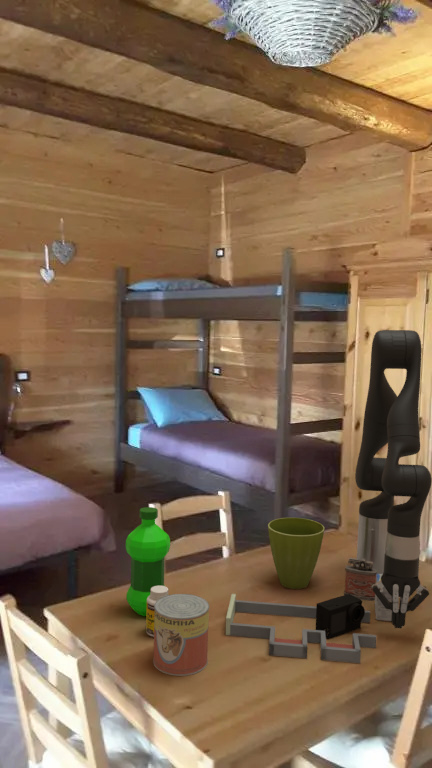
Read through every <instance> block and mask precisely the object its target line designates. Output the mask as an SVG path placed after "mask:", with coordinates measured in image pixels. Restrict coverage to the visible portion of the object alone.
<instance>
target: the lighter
mask: <svg viewBox="0 0 432 768" xmlns="http://www.w3.org/2000/svg"><path fill="white" fill-rule="evenodd" d="M347 560H348V564H349V565H345V566H344V567H345V568H344V569H345V582H344V591H343V595H347V594H351V595H353V596H355V597H357V598H359V599H361V600H362V601H371V602H372V601H373V602H375V593H374V592H373V589H372V586H371V585H372V583H376V574H377V570H376V569H372V566H373V562H371V561H366V559H361V560H358V559H357V558H353V557H349V558H348V559H347ZM356 565H359V566H356ZM368 566H369V568H368Z"/></svg>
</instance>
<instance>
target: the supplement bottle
mask: <svg viewBox="0 0 432 768" xmlns="http://www.w3.org/2000/svg"><path fill="white" fill-rule="evenodd" d="M168 595H170V594H169V588H168V587H167V586H166V585H165V586H154V587H152V588H151V593H150V595H149V596H148V598H147V612H146V620H145V631H146V632H145V633H146V634H147V635H148V636H150V637H153V638H154V615H155V609H154V604H155V602H156V601H157V600H158V599H160V598H162V597H164V596H168Z"/></svg>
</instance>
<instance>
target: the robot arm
mask: <svg viewBox="0 0 432 768" xmlns="http://www.w3.org/2000/svg"><path fill="white" fill-rule="evenodd" d="M370 353H371V354H370V365H369V367H370V370H369V371H370V372H369V384H368V389H367V397H366V402H365V407H364V408H365V409H364V413H363V414H364V416H363V425H362V426H363V427H362V436H361V442H360V448H359V453H358V457H357V461H356V462H357V463H356V467H355V477H354V479H355V484H356V487H357V488H358V489H360V490H361V491H368V492H369V491H372V492H380V493H379V494H378V495H377V496H374V497H373V498H369V499H365V500H363V501H361V502H360V503H359V505H358V506H359V507H358V526H357V527H358V528H357V546H356V559H358V560H361V559H366V561H371V562H373V566H372V569H376V570H377V574H383V575H382V576H381V580H380V581H379V582H377V583H372V585H371V586H372V589H373V592H374V593H375V594H376V596H377V597H378V598H379V600H380V601H381V603H382V604H383V605H384V607H385V608H386V609H390V610H392V617H391V621H390V622H391V623H392V625H393V626H394V629H403V627H405V625H406V615H407V613H408V612H414V611H415V610H416V609H417V608H418V607H419V606H420V605H421V604H422V603H423V601H425V600H426V598H428V596H429V595H430V591H429V590H428V588H427V587H426V586H424V585H422V584H421V581H420V577H419V571H420V569H419V568H420V555H421V537H420V534H421V518H422V513H423V510H424V508H425V507H424V506H425V504H426V501H427V498H428V496H429V494H430V491H431V487H432V474H431V472H430V470H429V469H428V467H427V466H424V465H421V464H400V462H399V461H400V459H401V458H403V457H409V456H413V455H417V454H418V453H419V452H420V450H421V437H420V435H421V434H420V423H419V422H420V421H419V417H420V416H419V405H420V391H421V373H422V372H421V371H422V341H421V337H420V334H419V333H418V332H417V331H415V330H411V329H407V330H406V329H403V330H402V329H382V330H378V331H376V332H375V334H374V335H373V338H372V343H371V352H370ZM387 369H388V370H390V369H392V370H393V369H394V370H395V369H397V370H399V369H400V370H406V372H405V373H406V374H405V375H406V376H405V381H404V383H403V386H402V387H401V390H400V392H399V393H398V395H397V394H396V392H395V391H394V390H393V388H392V386H391V385H390V383H389V381H388V379H387V377H386V374H385V371H386V370H387ZM386 445H387V453H386V457H376V454H377V453H378V452H379V451H380V450H381V449H382V448H384V447H385V446H386ZM395 497H409V498H408V500H407V501H406V502H403V503H400V504H395V503H394V501H395ZM356 566H359V565H356ZM368 568H369V566H368ZM383 585H384V587H385V588H386V590H387V591H388V593H389V594H390V595H391V602H390V601H388V599H387V598H386V597H385V595H384V594H383ZM415 592H416V593H415ZM414 593H415V594H414ZM413 594H414V596H412V595H413ZM411 596H412V597H411ZM410 597H411V599H410Z"/></svg>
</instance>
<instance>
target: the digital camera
mask: <svg viewBox="0 0 432 768" xmlns="http://www.w3.org/2000/svg"><path fill="white" fill-rule="evenodd" d="M364 614H365V607H364V606H363V600H361V599H359V598H357V597H355V596H353V595H351V594H347V595H344V594H342V595H340V596H337V597H333V598H330V599H327V600H324V601H321V602H318V603H316V618H315V630H322V631H325V635H326V640H331V639H334V638H337V637H340V636H342V635H346V634H348V633H351V632H354V631H357V630H360V629H362V628H361V627H362V622H361V621H362V619H363V617H364Z"/></svg>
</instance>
